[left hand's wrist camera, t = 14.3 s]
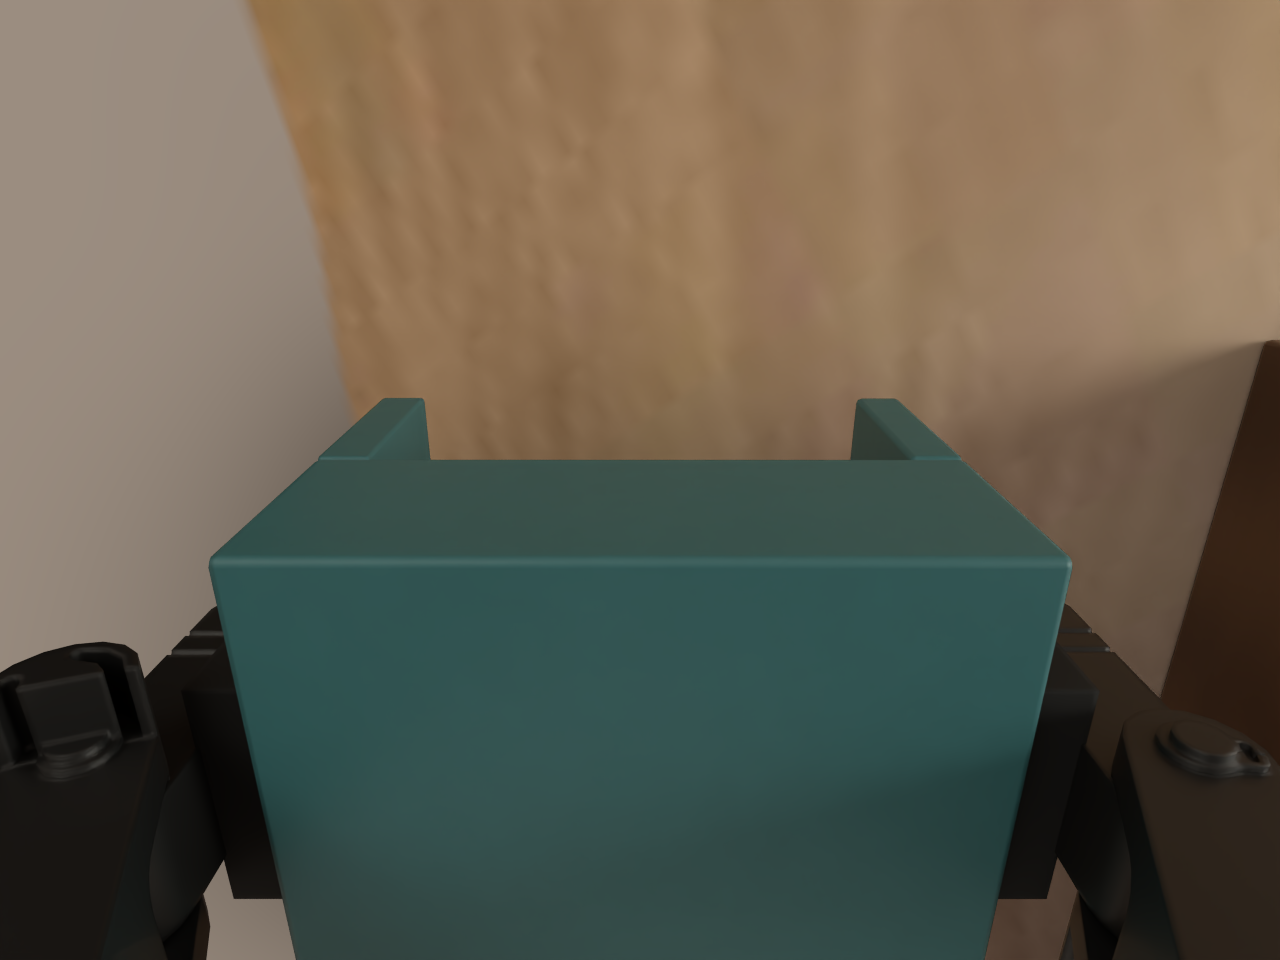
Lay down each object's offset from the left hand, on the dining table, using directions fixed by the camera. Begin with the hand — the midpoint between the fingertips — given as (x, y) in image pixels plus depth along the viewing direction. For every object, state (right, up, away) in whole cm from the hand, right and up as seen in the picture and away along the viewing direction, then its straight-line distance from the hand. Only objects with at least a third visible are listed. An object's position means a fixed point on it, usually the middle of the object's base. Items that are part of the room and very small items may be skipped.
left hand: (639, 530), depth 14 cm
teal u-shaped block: (0, -1, -2) cm, 2 cm away
